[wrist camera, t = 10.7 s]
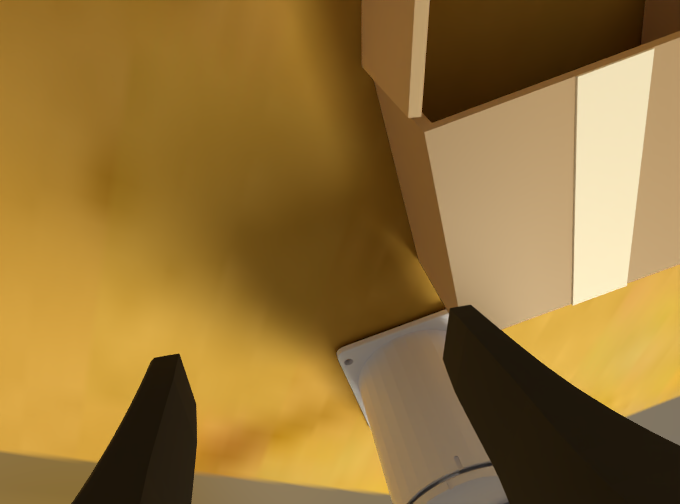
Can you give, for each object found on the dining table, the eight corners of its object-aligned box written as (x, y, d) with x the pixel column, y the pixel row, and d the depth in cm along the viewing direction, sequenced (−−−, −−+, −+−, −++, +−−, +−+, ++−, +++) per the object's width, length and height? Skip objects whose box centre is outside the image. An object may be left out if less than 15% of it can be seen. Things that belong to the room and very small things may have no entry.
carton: (634, 180, 25) (734, 246, 20) (418, 260, 25) (466, 344, 20) (657, -30, 19) (808, -9, 14) (372, 76, 19) (425, 133, 14)
